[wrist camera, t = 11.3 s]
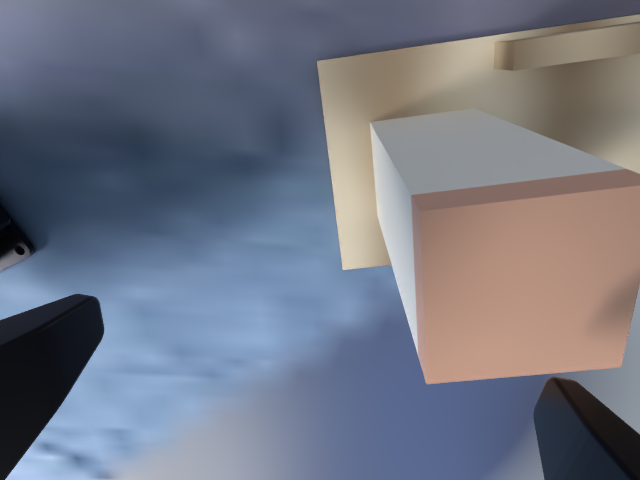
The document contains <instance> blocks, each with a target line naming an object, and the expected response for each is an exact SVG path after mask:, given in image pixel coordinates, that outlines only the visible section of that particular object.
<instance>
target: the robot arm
mask: <svg viewBox="0 0 640 480" xmlns="http://www.w3.org/2000/svg"><path fill="white" fill-rule="evenodd" d="M20 247H22V248H23V249H24V250H25V251H23V250H22V249H21V248H20ZM34 251H35V248H34V246H33V244H32V243H31V241H30V240H29V239H28V238H27V237H26V235H25V234H24V233H23V232H22V230H21V229H20V228H19V227H18V226H17V224H16V223H15V222H14V221H13V220H12V218H11V217H10V216H9V215H8V213H7V212H6V211H5V210H4V209H3V207H2V206H1V205H0V271H1V270H3V269H5V268H7V267H9V266H12V265H14V264H16V263H18V262H20V261H22V260H24V259H26V258H28V257H29V256H31V255H32V254H33V253H34ZM103 334H104V324H103V318H102V313H101V308H100V303H99V300H98V299H97V298H96V297H94V296H88V295H83V294H74V295H71V296H68V297H65V298H63V299H60V300H57V301H54V302H51V303H48V304H45V305H43V306H40V307H37V308H34V309H31V310H28V311H25V312H23V313H20V314H17V315H14V316H11V317H8V318H6V319H3V320H0V480H5V479H6V478H7V476H8V475H9V474H10V472H11V471H12V470H13V469H14V467H15V466H16V465H17V463H18V462H19V461H20V459H21V458H22V457H23V455H24V454H25V453H26V451H27V450H28V449H29V447H30V446H31V445H32V443H33V442H34V441H35V439H36V438H37V437H38V435H39V434H40V433H41V431H42V430H43V429H44V427H45V426H46V425H47V423H48V422H49V421H50V419H51V418H52V417H53V415H54V414H55V413H56V411H57V410H58V409H59V407H60V406H61V404H62V403H63V401H64V400H65V398H66V397H67V395H68V394H69V392H70V390H71V389H72V387H73V385H74V384H75V382H76V381H77V379H78V377H79V376H80V374H81V373H82V371H83V369H84V368H85V366H86V364H87V363H88V361H89V360H90V358H91V356H92V355H93V353H94V351H95V350H96V348H97V347H98V345H99V343H100V342H101V340H102V337H103ZM534 424H535V430H536V435H537V440H538V446H539V452H540V457H541V463H542V468H543V473H544V479H545V480H640V434H639V433H637V432H636V431H635V430H634V429H633V428H631V427H630V426H629V425H628V424H626V423H625V422H624V421H623V420H622V419H621V418H619V417H618V416H617V415H616V414H614V413H613V412H612V411H611V410H610V409H609V408H607V407H606V406H605V405H604V404H603V403H602V402H600V401H599V400H598V399H597V398H596V397H594V396H593V395H592V394H591V393H590V392H588V391H587V390H586V389H585V388H584V387H582V386H581V385H580V384H579V383H577V382H576V381H574V380H571V379H565V378H559V377H551V378H549V379H548V380H547V382H546V383H545V386H544V388H543V390H542V392H541V394H540V396H539V399H538V401H537V403H536V405H535V408H534Z"/></svg>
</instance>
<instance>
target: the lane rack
mask: <svg viewBox="0 0 640 480" xmlns="http://www.w3.org/2000/svg"><path fill="white" fill-rule="evenodd" d="M317 66H318V74H319V82H320V90H321V98H322V106H323V115H324V123H325V131H326V139H327V147H328V155H329V163H330V171H331V179H332V187H333V195H334V203H335V211H336V219H337V227H338V235H339V243H340V251H341V259H342V267H343V270H348V269H357V268H366V267H376V266H385V265H392V264H391V261H390V257H389V254H388V250H387V247H386V244H385V240H384V237H383V233H382V230H381V226H380V223H379V220H378V215H377V203H376V191H375V179H374V167H373V155H372V143H371V131H370V122H375V121H382V120H389V119H397V118H404V117H412V116H419V115H426V114H434V113H441V112H448V111H456V110H463V109H471V108H475V109H477V110H480V111H483V112H485V113H488V114H490V115H493V116H495V117H498V118H500V119H503V120H505V121H508V122H510V123H513V124H515V125H518V126H520V127H523V128H525V129H528V130H530V131H533V132H535V133H538V134H540V135H543V136H545V137H548V138H550V139H553V140H556V141H558V142H561V143H563V144H566V145H568V146H571V147H573V148H576V149H578V150H581V151H583V152H586V153H588V154H591V155H593V156H596V157H598V158H601V159H603V160H606V161H608V162H611V163H613V164H616V165H618V166H621V167H624V168H626V169H629V170H631V171H634V172H636V173H639V174H640V14H638V15H631V16H624V17H617V18H610V19H603V20H596V21H589V22H582V23H575V24H569V25H562V26H555V27H548V28H541V29H534V30H527V31H520V32H513V33H506V34H499V35H492V36H485V37H479V38H472V39H465V40H458V41H451V42H444V43H437V44H430V45H423V46H416V47H409V48H402V49H395V50H389V51H382V52H375V53H368V54H361V55H354V56H347V57H340V58H333V59H326V60H319V61H317Z"/></svg>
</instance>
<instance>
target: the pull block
mask: <svg viewBox="0 0 640 480" xmlns="http://www.w3.org/2000/svg"><path fill="white" fill-rule="evenodd" d="M370 131H371V143H372V155H373V167H374V179H375V191H376V203H377V215H378V220H379V223H380V226H381V230H382V233H383V237H384V240H385V244H386V247H387V250H388V254H389V257H390V261H391V264H392V268H393V271H394V274H395V278H396V281H397V285H398V288H399V292H400V295H401V298H402V302H403V305H404V309H405V312H406V316H407V319H408V322H409V326H410V329H411V332H412V336H413V340H414V343H415V346H416V350H417V353H418V357H419V360H420V363H421V367H422V370H423V374H424V377H425V381H426V384H434V383H445V382H456V381H469V380H480V379H491V378H503V377H515V376H526V375H538V374H549V373H561V372H573V371H584V370H596V369H607V368H618V367H621V365H622V361H623V356H624V352H625V347H626V343H627V338H628V334H629V329H630V324H631V320H632V316H633V311H634V307H635V302H636V298H637V293H638V289H639V284H640V174H639V173H636V172H634V171H631V170H629V169H626V168H624V167H621V166H618V165H616V164H613V163H611V162H608V161H606V160H603V159H601V158H598V157H596V156H593V155H591V154H588V153H586V152H583V151H581V150H578V149H576V148H573V147H571V146H568V145H566V144H563V143H561V142H558V141H556V140H553V139H550V138H548V137H545V136H543V135H540V134H538V133H535V132H533V131H530V130H528V129H525V128H523V127H520V126H518V125H515V124H513V123H510V122H508V121H505V120H503V119H500V118H498V117H495V116H493V115H490V114H488V113H485V112H483V111H480V110H477V109H475V108H471V109H463V110H456V111H448V112H441V113H434V114H426V115H419V116H412V117H404V118H397V119H389V120H382V121H375V122H370Z"/></svg>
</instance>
